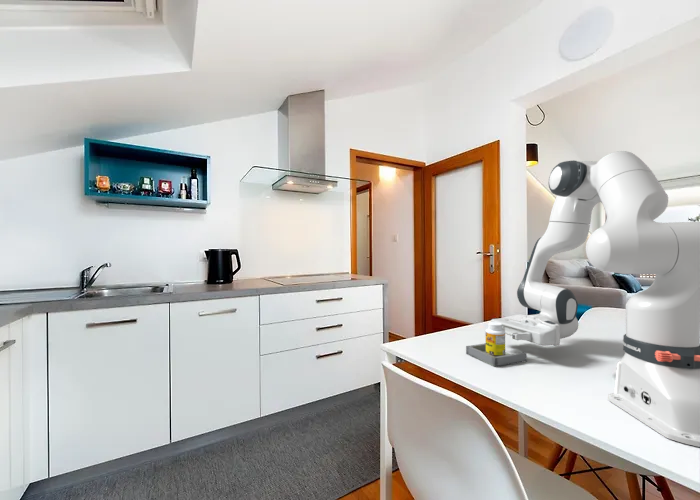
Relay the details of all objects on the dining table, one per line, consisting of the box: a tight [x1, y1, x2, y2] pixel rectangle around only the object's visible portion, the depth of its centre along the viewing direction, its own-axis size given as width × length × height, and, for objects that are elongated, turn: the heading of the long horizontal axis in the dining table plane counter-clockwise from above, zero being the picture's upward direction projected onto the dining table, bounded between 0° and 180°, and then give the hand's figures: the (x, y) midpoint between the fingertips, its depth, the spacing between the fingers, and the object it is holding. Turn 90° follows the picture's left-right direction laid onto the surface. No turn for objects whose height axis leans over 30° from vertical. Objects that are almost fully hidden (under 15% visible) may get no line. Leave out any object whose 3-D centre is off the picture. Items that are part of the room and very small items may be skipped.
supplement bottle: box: [485, 321, 506, 357], centre depth 96 cm, size 6×6×10 cm
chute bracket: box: [465, 342, 527, 368], centre depth 96 cm, size 12×12×2 cm
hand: (501, 332), depth 97 cm, fingers open, 8 cm apart
